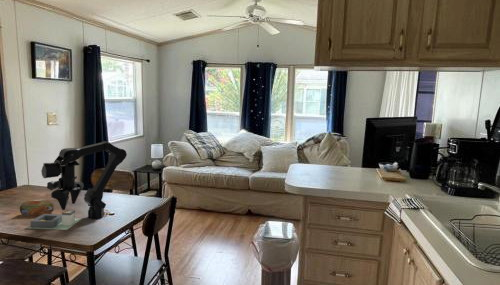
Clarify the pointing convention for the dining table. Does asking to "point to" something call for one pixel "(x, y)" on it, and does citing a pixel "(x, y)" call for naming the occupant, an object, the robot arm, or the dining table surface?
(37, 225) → the grey flat square frame
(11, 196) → the dining table surface
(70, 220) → the plug
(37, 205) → the tin
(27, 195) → the dining table surface
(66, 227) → the circuit board
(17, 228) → the dining table surface
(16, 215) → the dining table surface
